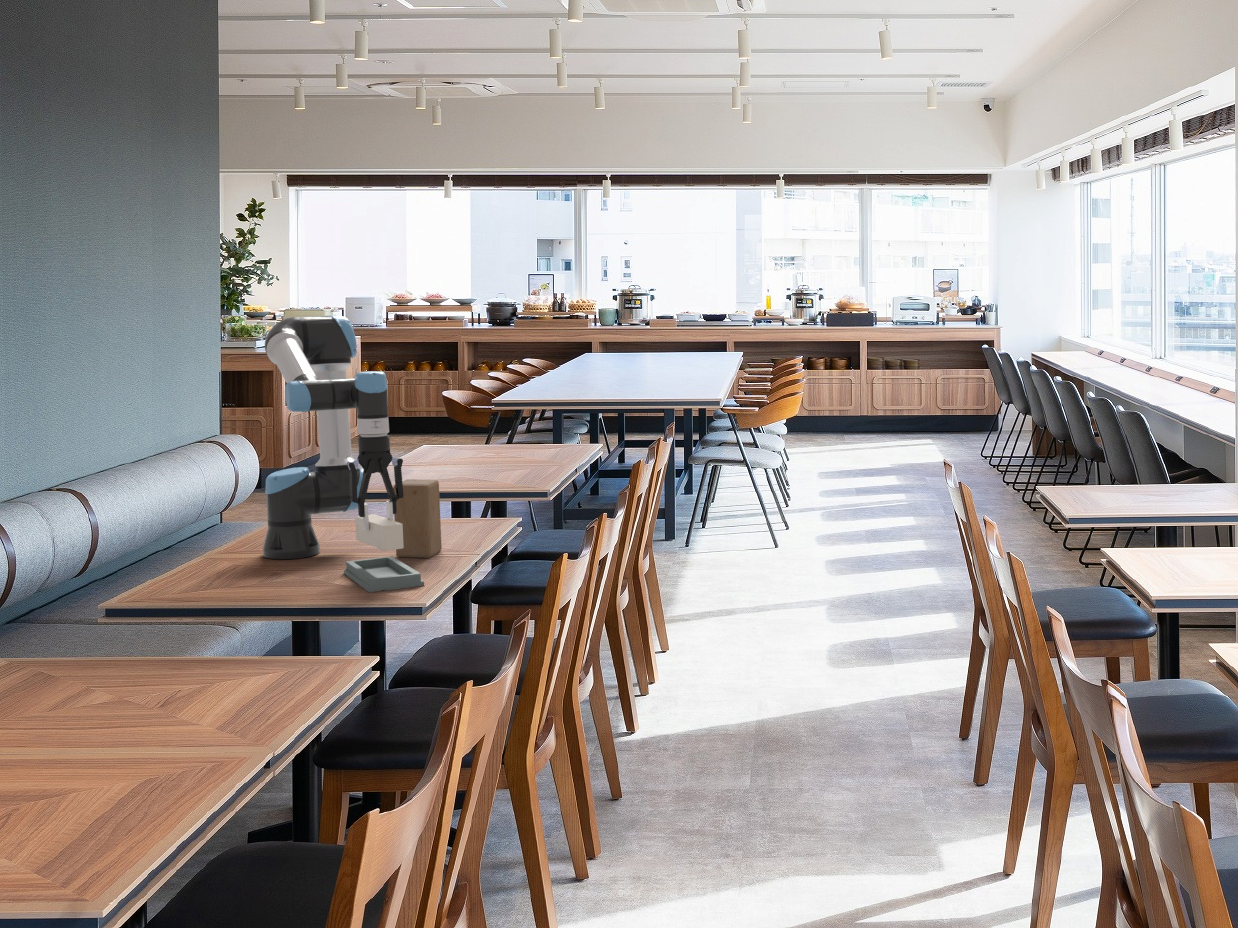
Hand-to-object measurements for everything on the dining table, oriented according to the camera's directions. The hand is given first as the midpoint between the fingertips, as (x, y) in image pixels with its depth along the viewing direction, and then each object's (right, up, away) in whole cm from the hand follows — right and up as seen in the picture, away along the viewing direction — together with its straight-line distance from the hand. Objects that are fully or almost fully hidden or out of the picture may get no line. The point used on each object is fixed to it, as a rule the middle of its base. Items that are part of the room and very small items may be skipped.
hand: (378, 528), depth 307 cm
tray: (+1, -13, +2) cm, 13 cm away
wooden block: (+5, -9, +31) cm, 33 cm away
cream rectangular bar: (0, -4, 0) cm, 4 cm away
